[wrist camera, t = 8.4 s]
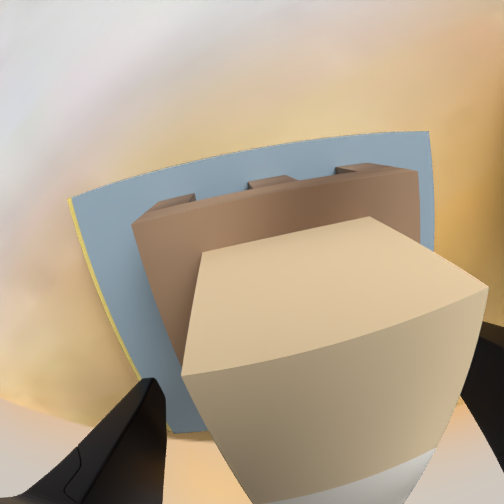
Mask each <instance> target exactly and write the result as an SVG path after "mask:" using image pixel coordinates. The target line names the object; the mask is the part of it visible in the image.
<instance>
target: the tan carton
mask: <svg viewBox="0 0 504 504" xmlns="http://www.w3.org/2000/svg"><path fill="white" fill-rule="evenodd" d="M488 291H489V286H487V285H486V284H484V283H483V282H481V281H480V280H478V279H477V278H475V277H473V276H472V275H470V274H469V273H467V272H466V271H464V270H462V269H461V268H459V267H458V266H456V265H454V264H453V263H451V262H450V261H448V260H446V259H445V258H443V257H441V256H440V255H438V254H436V253H435V252H433V251H431V250H430V249H428V248H426V247H424V246H423V245H421V244H419V243H417V242H416V241H414V240H412V239H410V238H409V237H407V236H405V235H403V234H401V233H400V232H398V231H396V230H394V229H392V228H390V227H389V226H387V225H385V224H383V223H381V222H379V221H377V220H375V219H374V218H372V217H370V216H369V217H364V218H359V219H354V220H350V221H345V222H340V223H335V224H331V225H326V226H321V227H317V228H312V229H307V230H302V231H298V232H293V233H289V234H284V235H279V236H275V237H270V238H265V239H261V240H256V241H252V242H247V243H243V244H238V245H233V246H229V247H224V248H220V249H215V250H211V251H206V252H202V257H201V262H200V268H199V273H198V278H197V283H196V289H195V294H194V300H193V305H192V311H191V316H190V322H189V328H188V334H187V340H186V346H185V353H184V359H183V366H182V372H181V377H182V379H183V381H184V384H185V386H186V388H187V390H188V392H189V394H190V396H191V398H192V400H193V402H194V404H195V406H196V408H197V410H198V412H199V414H200V416H201V418H202V419H203V421H204V423H205V425H206V427H207V429H208V431H209V433H210V434H211V436H212V438H213V440H214V442H215V443H216V445H217V447H218V449H219V450H220V452H221V454H222V456H223V457H224V459H225V461H226V462H227V464H228V466H229V467H230V469H231V470H232V472H233V474H234V476H235V477H236V479H237V480H238V482H239V484H240V485H241V487H242V488H243V490H244V491H245V493H246V494H247V496H248V497H249V499H250V500H251V502H252V503H253V504H263V503H270V502H276V501H281V500H286V499H292V498H296V497H301V496H305V495H310V494H314V493H318V492H322V491H325V490H329V489H333V488H336V487H339V486H343V485H346V484H349V483H352V482H355V481H358V480H361V479H364V478H367V477H370V476H373V475H375V474H378V473H381V472H383V471H386V470H388V469H391V468H393V467H395V466H398V465H400V464H402V463H405V462H407V461H409V460H411V459H414V458H416V457H418V456H420V455H422V454H424V453H426V452H428V451H430V450H432V449H434V448H436V447H437V446H438V444H439V442H440V440H441V438H442V436H443V434H444V431H445V429H446V427H447V425H448V423H449V421H450V418H451V416H452V413H453V411H454V409H455V406H456V404H457V401H458V399H459V396H460V394H461V391H462V388H463V385H464V383H465V380H466V377H467V374H468V371H469V368H470V365H471V361H472V358H473V355H474V351H475V348H476V344H477V341H478V337H479V333H480V329H481V325H482V321H483V316H484V311H485V307H486V302H487V296H488Z"/></svg>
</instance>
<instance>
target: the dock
mask: <svg viewBox="0 0 504 504" xmlns="http://www.w3.org/2000/svg"><path fill="white" fill-rule="evenodd" d="M361 163H373V164H380V165H386V166H392V167H398V168H404V169H410V170H415V171H418V179H419V196H420V244H421V245H423V246H424V247H426V248H428V249H430V250H431V251H433V252H434V186H433V170H432V158H431V148H430V139H429V131H414V132H385V133H371V134H359V135H348V136H339V137H330V138H321V139H314V140H306V141H299V142H292V143H285V144H279V145H273V146H267V147H261V148H255V149H250V150H245V151H239V152H234V153H229V154H224V155H219V156H215V157H210V158H206V159H201V160H197V161H192V162H188V163H184V164H180V165H176V166H172V167H168V168H164V169H160V170H156V171H153V172H149V173H145V174H142V175H138V176H135V177H131V178H128V179H124V180H121V181H118V182H115V183H111V184H108V185H105V186H102V187H99V188H96V189H93V190H91V191H88V192H85V193H82V194H79V195H77V196H74V197H71V198H69V199H67V201H68V204H69V208H70V212H71V215H72V219H73V222H74V226H75V229H76V232H77V235H78V239H79V242H80V245H81V248H82V251H83V254H84V257H85V260H86V263H87V265H88V268H89V271H90V274H91V276H92V279H93V282H94V284H95V287H96V289H97V292H98V295H99V297H100V299H101V302H102V304H103V307H104V309H105V311H106V314H107V316H108V318H109V321H110V323H111V325H112V327H113V330H114V332H115V334H116V336H117V338H118V340H119V342H120V345H121V347H122V349H123V351H124V353H125V355H126V357H127V359H128V361H129V363H130V365H131V367H132V368H133V370H134V372H135V374H136V376H137V378H138V380H139V381H140V380H141V379H143V378H149V377H154V378H155V379H156V380H157V381H158V383H159V385H160V387H161V389H162V391H163V393H164V395H165V398H166V427H167V429H168V430H169V431H173V433H174V434H175V433H189V432H200V431H208V429H207V427H206V425H205V423H204V421H203V419H202V418H201V416H200V414H199V412H198V410H197V408H196V406H195V404H194V402H193V400H192V398H191V396H190V394H189V392H188V390H187V388H186V386H185V384H184V381H183V379H182V377H181V372H182V368H181V365H180V363H179V361H178V358H177V356H176V353H175V351H174V349H173V346H172V344H171V341H170V339H169V336H168V334H167V331H166V328H165V326H164V323H163V321H162V318H161V315H160V312H159V310H158V307H157V304H156V301H155V299H154V296H153V293H152V290H151V287H150V284H149V281H148V278H147V275H146V272H145V269H144V266H143V263H142V260H141V257H140V253H139V250H138V247H137V243H136V240H135V237H134V233H133V230H132V226H131V224H132V223H133V222H134V221H136V220H137V219H138V218H139V217H140V216H142V215H143V214H144V213H145V212H146V211H147V210H149V209H150V208H151V207H152V206H154V205H155V204H156V203H157V202H159V201H163V200H167V199H171V198H175V197H179V196H183V195H188V194H192V193H195V197H196V201H198V200H202V199H207V198H211V197H216V196H221V195H225V194H230V193H235V192H240V191H245V190H249V185H248V182H249V181H254V180H259V179H265V178H270V177H276V176H281V175H287V176H289V177H292V178H294V179H296V180H305V179H311V178H318V177H324V176H330V175H336V168H335V167H338V166H345V165H353V164H361Z"/></svg>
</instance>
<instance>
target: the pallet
mask: <svg viewBox="0 0 504 504" xmlns="http://www.w3.org/2000/svg"><path fill="white" fill-rule="evenodd" d="M335 168H336V175H330V176H324V177H318V178H311V179H305V180H296V179H294V178H292V177H289V176H287V175H281V176H276V177H270V178H265V179H259V180H254V181H249V182H248V185H249V190H245V191H240V192H235V193H230V194H225V195H221V196H216V197H211V198H207V199H202V200H198V201H196V197H195V193H192V194H188V195H183V196H179V197H175V198H171V199H167V200H163V201H159V202H157V203H156V204H155V205H154V206H152V207H151V208H150V209H149V210H147V211H146V212H145V213H144V214H143V215H142V216H140V217H139V218H138V219H137V220H136V221H134V222H133V223H132V224H131V226H132V230H133V233H134V237H135V240H136V243H137V247H138V250H139V253H140V257H141V260H142V263H143V266H144V269H145V272H146V275H147V278H148V281H149V284H150V287H151V290H152V293H153V296H154V299H155V301H156V304H157V307H158V310H159V312H160V315H161V318H162V321H163V323H164V326H165V328H166V331H167V334H168V336H169V339H170V341H171V344H172V346H173V349H174V351H175V353H176V356H177V358H178V361H179V363H180V365H181V368H182V366H183V359H184V353H185V346H186V340H187V334H188V328H189V322H190V316H191V311H192V305H193V300H194V294H195V289H196V283H197V278H198V273H199V268H200V262H201V257H202V252H206V251H211V250H215V249H220V248H224V247H229V246H233V245H238V244H243V243H247V242H252V241H256V240H261V239H265V238H270V237H275V236H279V235H284V234H289V233H293V232H298V231H302V230H307V229H312V228H317V227H321V226H326V225H331V224H335V223H340V222H345V221H350V220H354V219H359V218H364V217H369V216H370V217H372V218H374V219H375V220H377V221H379V222H381V223H383V224H385V225H387V226H389V227H390V228H392V229H394V230H396V231H398V232H400V233H401V234H403V235H405V236H407V237H409V238H410V239H412V240H414V241H416V242H417V243H419V244H420V196H419V179H418V171H415V170H410V169H404V168H398V167H392V166H386V165H380V164H373V163H361V164H353V165H345V166H338V167H335Z"/></svg>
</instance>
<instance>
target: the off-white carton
mask: <svg viewBox="0 0 504 504" xmlns="http://www.w3.org/2000/svg"><path fill="white" fill-rule="evenodd" d="M436 448H437V447H436ZM436 448H434V449H432V450H430V451H428V452H426V453H424V454H422V455H420V456H418V457H416V458H414V459H411V460H409V461H407V462H405V463H402V464H400V465H398V466H395V467H393V468H391V469H388V470H386V471H383V472H381V473H378V474H375V475H373V476H370V477H367V478H364V479H361V480H358V481H355V482H352V483H349V484H346V485H343V486H339V487H336V488H333V489H329V490H325V491H322V492H318V493H314V494H310V495H305V496H301V497H296V498H292V499H286V500H281V501H276V502H270V503H263V504H404V502H405V501H406V499H407V498H408V496H409V495H410V493H411V492H412V490H413V488H414V487H415V485H416V484H417V482H418V480H419V479H420V477H421V475H422V474H423V472H424V470H425V468H426V467H427V465H428V463H429V461H430V459H431V457H432V455H433V454H434V452H435V450H436Z"/></svg>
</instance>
